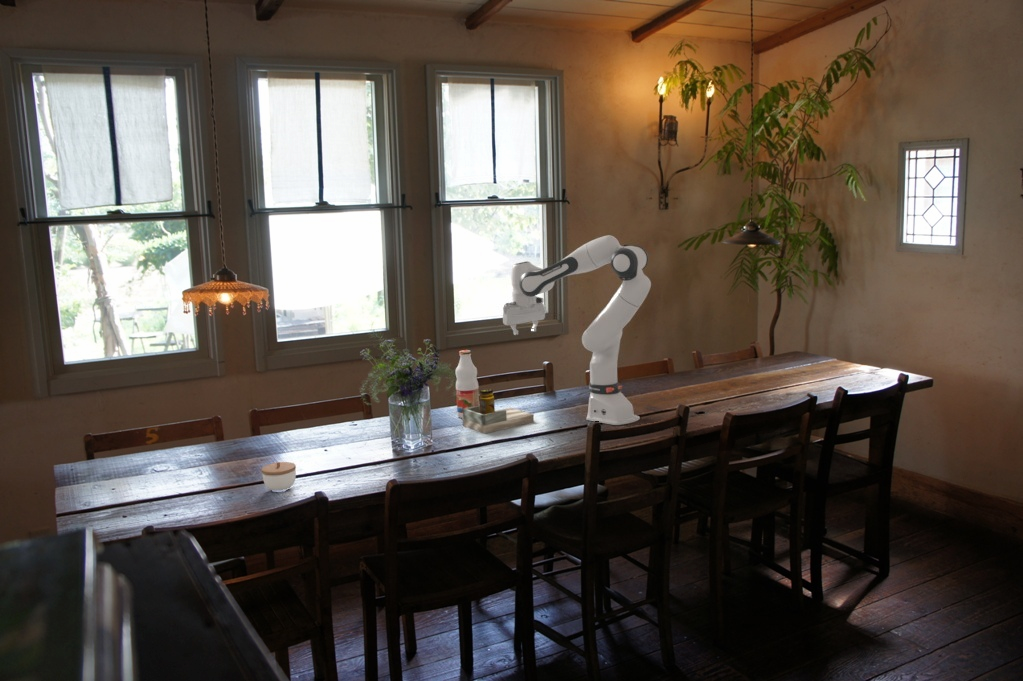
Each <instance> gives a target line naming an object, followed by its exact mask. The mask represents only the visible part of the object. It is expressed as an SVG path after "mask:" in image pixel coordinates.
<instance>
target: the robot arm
mask: <svg viewBox="0 0 1023 681" xmlns="http://www.w3.org/2000/svg"><path fill="white" fill-rule="evenodd" d="M648 263H649V254H648V252H647V250H646V249H645V248H643V247H642V246H639V245H635V244H634V245H633V244H632V245H631V244H624V245H621V244H620V242H619V240H618V239H617V238H616V237H615V236H613V235H610V234H608V235H604V236H600V237H597V238H595V239H592V240H590V241H588V242H586V243H584V244H582V245H581V246H580V247H578V248H576V249H575V250H574V251H572V252H571V253H570V254H568V255H567V256H565V257H564V258H562V259H560V260H559V261H557V262H555V263H553V264H552V265H549V266H547V267H545V268H541V267H538V266H536V265H535V264H533V263H531V261H523V262H518V263H515V264H513V266H512V268H511V286H512V292H511V294H512V296H511V298H512V301H511V302H506V303H505V304H503V306H502V307H503V308H502V309H503V310H502V311H503V312H502V323H503V325H505V326H510V328H511V330H512V332H513V335H514V336H517V335H519V330H518V329H517V325H519V324H525V323H532V327H530V332H531V333H534V332H537V327H538V325H539V321H543V320H545V318H546V309H545V305H544V298H543V297H540V296H537V295H541V294H544V293H547V292H548V291H550V290H552V289H553V288H554V286H555V282H556V281H558V280H560V279H562V278H565V277H567V276H572V275H579V274H585V273H589V272H592V271H595V270H597V269H599V268H601V267H603V266H605V265H608V264H610V266H611V269H612V270H613V272H614V273H615V274H616V275H617V277H619V278H620V280H621V281H622V282H621V284H620V286H619V287H618V288H617V290H616V291H615V293H614V294H613V296H612V297H611V299H610V300H609V302H608V303H607V305H606V306H605V307H604V308H603V309H602V310H601V311H600V312H599V313H598V315H597V316H596V317H595V319H594V320H592V322H591V323H590V324H589V326H588V327H587V329H585V330H584V332H583V334H582V336H581V343H582V346H583V347H584V349H586V350H587V351H589V352H592V355H591V359H590V362H589V383H588V389H589V390H588V391H589V393H590V394H589V398H588V409H587V416H586V421H592V422H595V421H599V422H598V423H600V424H601V423H602V424H607V425H612V426H613V425H614V426H621V425H626V424H632V423H635V422H638V421H639V420H640V419H641V418H640V416H639V415H636V414H634V406H633V404H632V403H631V401H630V400H628V398H627V397H626V396H625V395H624V393H622V388H623V385H620V382H618V357H619V353H620V346H621V339H622V336H623V329H624V327H626V326H627V324H629V323H630V322H631V320H632V318H633V317H634V316H635V314H636V312H637V311H639V309H640V307H641V306H642V305H643V303H644V301H645V299H646V298H647V297H648V294H649V292H650V290H651V287H652V282H651V280H650V278H649V277H648V276H647V275H646V274H645V273H644V270H645V268H646V267H647V265H648Z"/></svg>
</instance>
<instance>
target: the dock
mask: <svg viewBox="0 0 1023 681" xmlns="http://www.w3.org/2000/svg"><path fill="white" fill-rule="evenodd" d="M534 416H535V415H534V414H532V413H529V412H526V411H522V410H520V409H516V408H512V407H508V408H503V409H498V410H495V412H493V413H488V414H484V415H483V414H480V406H475V407H471V408H466V409H463V418H461V420H462V426H463V427H465V428H469V429H471V430H474V431H477V432H479V433H482V434H489V433H493V432H496V431H501V430H504V429H509V428H514V427H519V426H522V425H526V424H530V422H531V423H534V422H535V420H534Z"/></svg>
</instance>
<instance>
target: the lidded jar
mask: <svg viewBox="0 0 1023 681" xmlns="http://www.w3.org/2000/svg"><path fill="white" fill-rule="evenodd" d="M296 468H297V467H296V464H295V463H294V462H289V461H288V462H287V461H277V462H273V463H269V464H267V465H265V466H263V467H262V468H261V474H262V480H263V483H264V485H265V487H266V488H267V489H268V490H269V489H271V490H283V489H287V488H290V487H291V486H292V487H293V486H294V484H295V481H296V478H297V476H296V474H297V473H296V472H297V470H296ZM292 487H291V488H292ZM291 488H290V489H291ZM271 490H270V491H271Z"/></svg>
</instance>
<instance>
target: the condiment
mask: <svg viewBox="0 0 1023 681" xmlns="http://www.w3.org/2000/svg"><path fill="white" fill-rule="evenodd" d="M479 406H480V414H483V415H484V414H488V413H493V412H495V411H496V406H495V396H494V390H493V389H492V388H481V389H480V390H479Z"/></svg>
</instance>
